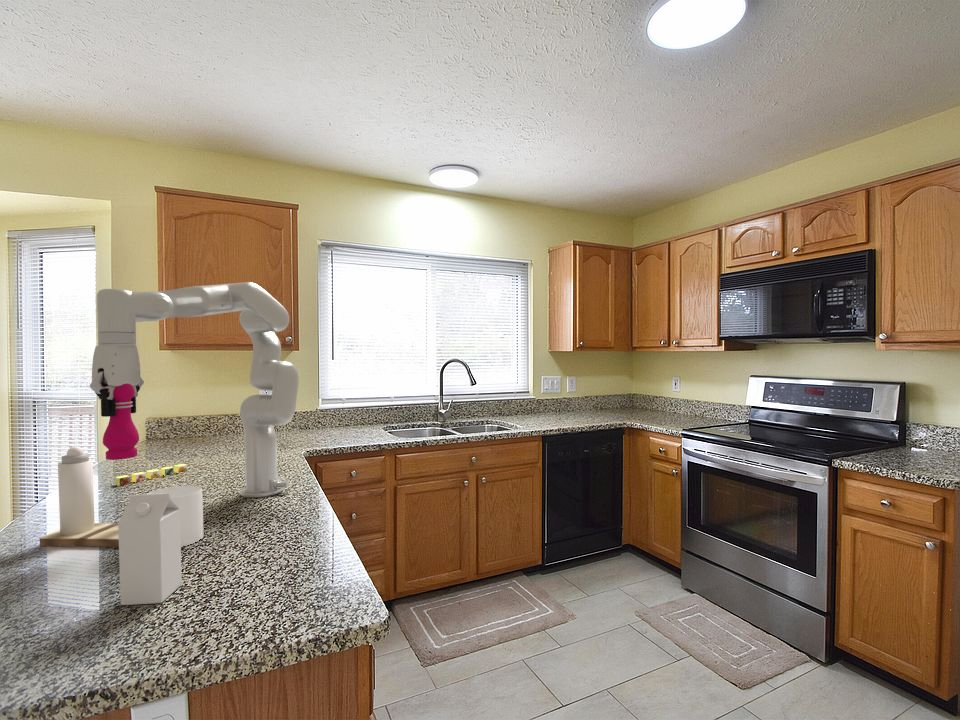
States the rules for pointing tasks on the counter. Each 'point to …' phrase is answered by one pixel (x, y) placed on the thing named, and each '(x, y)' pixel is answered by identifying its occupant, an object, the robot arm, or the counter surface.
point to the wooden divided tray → (85, 537)
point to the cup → (187, 511)
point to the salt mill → (76, 492)
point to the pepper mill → (121, 426)
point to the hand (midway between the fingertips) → (119, 413)
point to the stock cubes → (149, 474)
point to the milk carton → (149, 549)
